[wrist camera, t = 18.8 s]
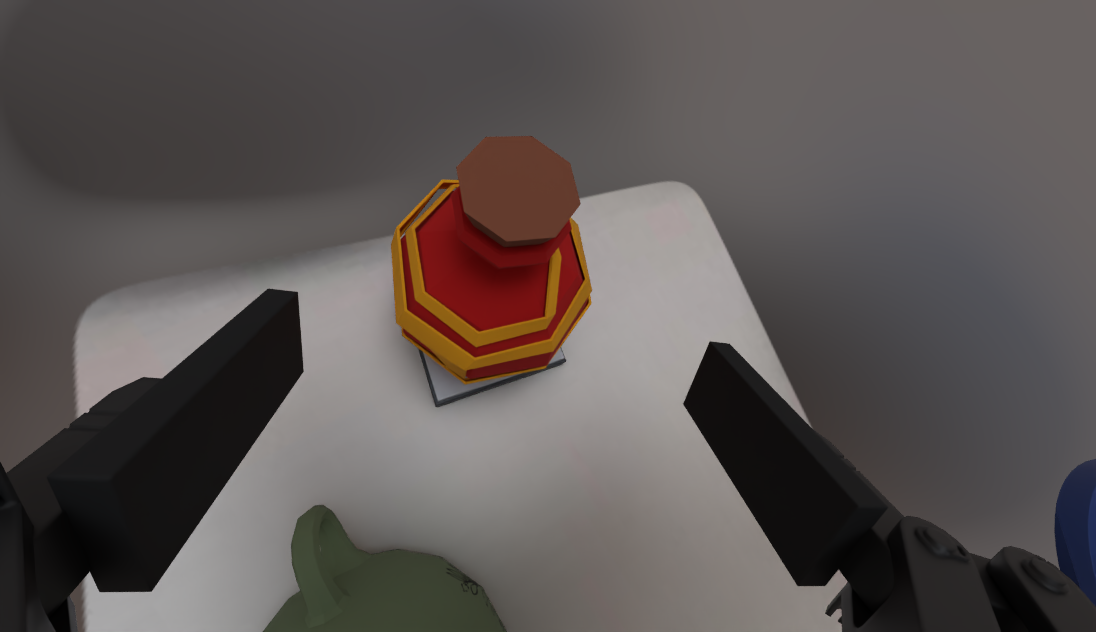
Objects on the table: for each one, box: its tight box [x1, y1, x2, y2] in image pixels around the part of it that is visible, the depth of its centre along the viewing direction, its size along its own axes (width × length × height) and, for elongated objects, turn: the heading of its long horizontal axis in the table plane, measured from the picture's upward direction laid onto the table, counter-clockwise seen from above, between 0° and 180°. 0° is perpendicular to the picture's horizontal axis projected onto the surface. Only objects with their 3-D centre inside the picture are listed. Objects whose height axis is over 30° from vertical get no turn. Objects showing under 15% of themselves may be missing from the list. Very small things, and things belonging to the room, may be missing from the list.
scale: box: [418, 347, 566, 407], centre depth 28 cm, size 9×9×2 cm
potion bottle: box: [391, 136, 592, 385], centre depth 20 cm, size 10×10×15 cm
